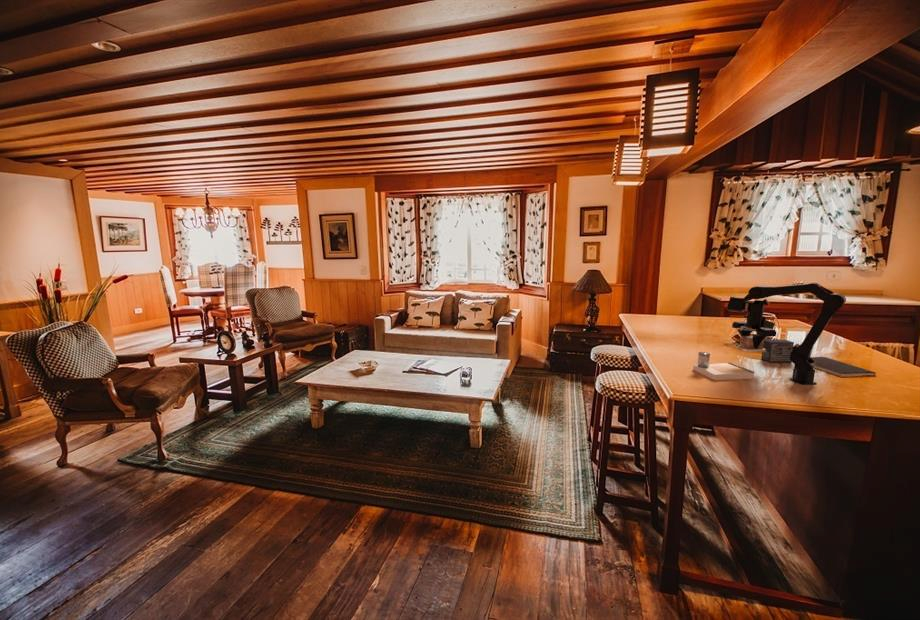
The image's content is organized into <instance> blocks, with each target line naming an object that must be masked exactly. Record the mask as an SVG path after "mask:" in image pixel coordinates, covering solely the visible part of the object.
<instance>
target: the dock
mask: <svg viewBox="0 0 920 620" xmlns="http://www.w3.org/2000/svg"><path fill="white" fill-rule="evenodd" d="M697 365H698V364H693V366H692V370H693V371H695V372H697V373H699V374H701V375H703V376H705V377H707V378H709V379H712V380H713V381H727V380H747V379H749V380H750V379H751V380H752V379H754V377H755V376H754V375H755V371H753V370H751V369H748V368H746V367H743V366H741V365H738V364H736V363H733V362H730V361H729V362H726V363H709V368H701V367H698V366H697Z"/></svg>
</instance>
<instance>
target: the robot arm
mask: <svg viewBox="0 0 920 620" xmlns="http://www.w3.org/2000/svg"><path fill="white" fill-rule="evenodd" d="M807 293H809V294H812V295H813V296H815V297H816V298H818V299H819V300H820V301H822V302H823V303H822V307H821V309H820V314H819V315H818V316H817V319H816V320H815V322H814V323H813V325H812V326H811V328H810V330H809V331H808V333H807V334H806V336H805V338H804V340H803V341H802V342H801V343H800V344H799V343H796V344H795V343H794V345H793V350H792V351H791V352H790V353H789V354H791V355H790V360H791V362H792V364H794V366H793V367H794V368H793V370H792V377H789V380H790V381H793V382H795V383H797V384H801V385H817V382H816V381H814V380H815V373H816V370H815V368H814V365H815V364H816V362H815V361H814V360H813V359H812V358H811V357H812V352H813V350H814V347H815V344H816V343H817V341H818V339H819V338H820V337H821V335H822V333H823V332H824V330H825V329H826V327H827V325H828V324H829V323H830V320H832V318H833V316H834V315H836V313H837V312H838V311H839V310H840V309H841V308H842V307H843V306H844V305H845V304H846V302H847V298H846V296H845V295H844V294H842V293H840V292H834V291H832V290H830V289H829V288H826V287H824V286H823V285H821V284H819V282H810V283H801V284H800V283H799V284H789V285H780V286H773V285H755V286H753V287H751V288H749V290H748V293H747V294H746V295H745V296H744V297H737V296H730V298H729V301H728V303H727V306H726V307H727V311H729V312H736V313H744V311H747V314H745V315H744V318H746V320H745V321H733V322H732V324H731V325H732V326H731V328H732V329H736V331H737V332H738V333H739V336H740V337H741V336H753V343H754V348H755V349H758V347H759V345H760V344H761V342H762V340H763V339H764V340H765V339H766V338H768V337H776V336H777V331H776V329H774V328H775V326H776V322H772V321H770V320H767V319H766V316H764V310H765V306H768V305H769V306H770V305H771V302H770V301H768V299H767V298H769V297H773V296H774V297H775V296H784V295H796V294H807ZM760 299H761V300H760ZM762 299H763V300H762ZM751 300H754V301H751ZM752 332H756V333H755V334H754V333H752ZM751 333H752V334H751Z"/></svg>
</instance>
